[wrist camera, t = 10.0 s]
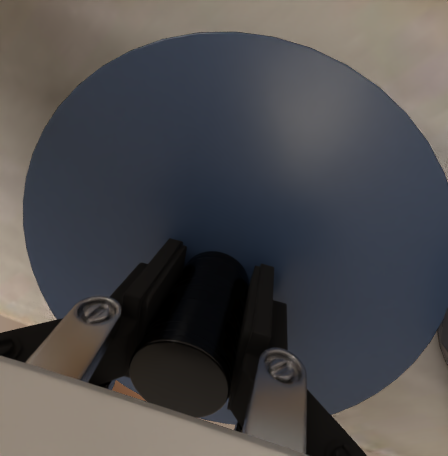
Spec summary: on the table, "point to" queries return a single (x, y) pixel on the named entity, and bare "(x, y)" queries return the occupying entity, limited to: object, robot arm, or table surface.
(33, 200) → the lid
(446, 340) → the pot
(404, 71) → the table surface
